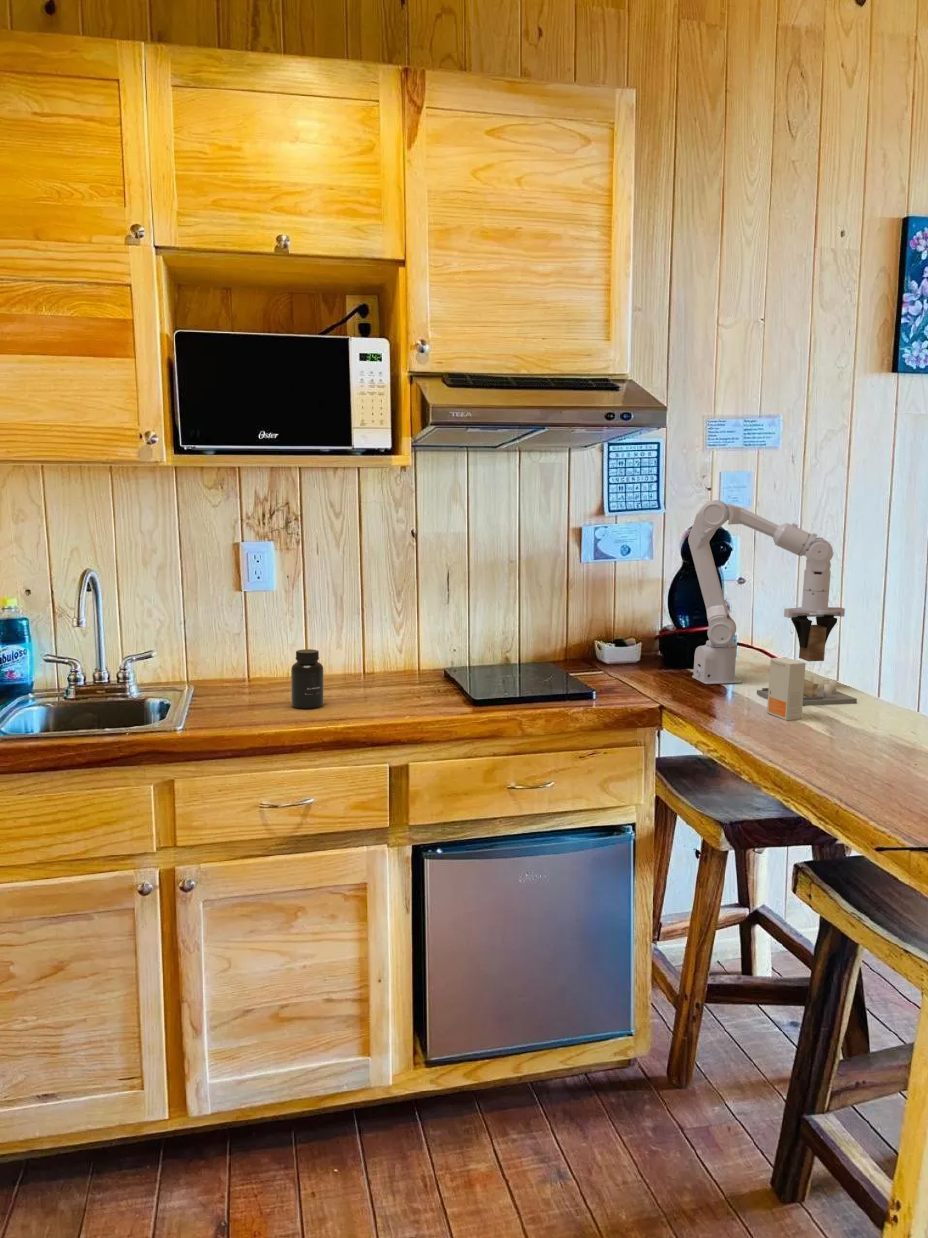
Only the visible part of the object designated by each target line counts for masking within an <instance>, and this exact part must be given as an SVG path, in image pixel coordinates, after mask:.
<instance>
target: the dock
mask: <svg viewBox="0 0 928 1238" xmlns="http://www.w3.org/2000/svg"><path fill="white" fill-rule="evenodd" d="M805 679H806V680H808V681H811V682H814V680H815V677H813V676H805ZM814 683H815V682H814ZM837 684H838V680H836V679H829V682H828V683H824V685H823V687H818V688H817V696H816V697H809V696H807V695H805V694H803V706H820V705H821V706H823V705H824V706H825V705H845V704H846V705H847V704H848V705H849V704H857V702H858V699H857V698H856V697H853V696H851V695H848V694H845V693H843V692H840V691H838V690H837V688H838V687H837ZM768 690H769V687H762V688H761V689H757V690H756V695H757V696H759V697H762V698H764V699H766V700H768Z"/></svg>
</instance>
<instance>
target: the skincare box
mask: <svg viewBox="0 0 928 1238" xmlns="http://www.w3.org/2000/svg"><path fill="white" fill-rule="evenodd" d="M769 664H770V665H769V674H768V675H769V680H768V688H769V690H768V699H767V706H766V713H767V714H769V715H771V716H775V717H777V718H780V719H782V720H784V721H792V720H800V719H802V716H803V706H804V705H803V692H804V679H806V676H805V675H806V674H805V673H806V661H805V662H804V661H801V660H797V659H793V658H790V657H783V656H782V657H772V658H770V662H769Z"/></svg>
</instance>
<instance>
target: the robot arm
mask: <svg viewBox="0 0 928 1238" xmlns="http://www.w3.org/2000/svg"><path fill="white" fill-rule="evenodd" d="M727 521H728V522H727ZM725 523H727V525H742V526H745V527H748V528H750V529H751V530H755V531H757V532H759V533H761V534H764V535H766V536H768V537H771V538H772V539H773V542H774V546H777V547H779V548H781V549H784V550H786V551H788V552H790V553H792V554H794V555H796V556H799V557H803V556H805V558H806V560H805V569H804V572H803V583H802V584H803V586H802V601H801V607H800V606H799V607H792V608H784V610H783V611H784V612H783V617H784V618H787V619H790V620H791V623H792V624H793V626H794V628H795V631H796V635H797V639H798V645H799V648H800V647H803V648H807V645H808V636H809V630H810V627H811V625H813V624H812V623H813V620H811V619H809V618H811V617H812V618H813V617H815V621H816V622H815V623H816V625H819V626H823V627H826V641H825V645H826V643H827V641H828V638H829V635H830V634H831V632H832V630H833V629H834V627H835V625H836V624H837V622H838V618H837V617H845V613H846V612H845V611H846V608H843V607H830V606H829V599H830V585H831V570H830V569H831V566H832V563H831V560H832V558H833V557H834V551H833V546H832V544H830V542H829V541H828V540H826V539H824V538H823V537H818V534H817V533H815V532H813V533H810V532H808V531H806V530H803V529H801V528H799V525H798V524H797V523H795V522H792V523H791V524H790V523H788V522H785V523H783V524H780V525H779V524H777V523H774V522H772V521H771V520H769V519H767V518H765V517H762V516H760V515H758V514H757V513H754V512H752V511H749V510H748V509H745V508H744V507H741V506H738V505H735V504H732V503H731V504H730V503H725V502H724V501H722V500H711V501H708V502H706V503H705V504H704V505H703V506H702V507H701V508H700V509H699V511H698V512H697V513H696V515H695V519H694V521H693V524H692V527H691V529H690V532H689V535H688V538H687V539H688V545H689V549H690V553H691V557H692V560H693V564H694V568H695V572H696V575H697V580H698V583H699V588H700V590H701V591H700V592H701V595H702V598H703V602H704V605H705V610H706V618H707V622H708V628H707V631H706V633H707V634H706V635H707V637H708V640H706V641H705V644H704V645H699V646H697V647H696V648H695V651H694V655H693V657H694V660H693V675H691V677H692V678H693V679H695V680H697V681H698V682H701V683H703V684H705V685H719V684H724V685H725V684H742V680H740V679H738V678H736V677H735V675H736V661H737V646H738V645H737V642H735V641H734V639H735V636H736V635H735V634H736V632H737V625H736V622H735V620H734V619H733V618H732V617H731V616H730V613H729V610H728V607H727V605H726V601H725V599H724V594H723V589H722V587H721V582H720V578H719V575H718V571H717V567H716V565H715V560H714V555H713V553H712V549H711V546H710V541H711V539H712V538H713V536H714V535H715V533H716V531H718V529H720V528H721V527H722V526H723V525H724V524H725Z"/></svg>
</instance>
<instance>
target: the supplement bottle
mask: <svg viewBox="0 0 928 1238" xmlns="http://www.w3.org/2000/svg"><path fill="white" fill-rule="evenodd" d="M319 660H320V657H319V650H317V649H310V648H307V649H306V648H305V649H298V650H296V651H295V661H296V662H295V663H293V664H292V666H291V669H290V670H291V673H290V674H291V675H290V676H291V679H290V680H291V683H290V684H291V687H290V688H291V693H290V694H291V705H292V706H293V707H294V708H296V709H303V710H311V709H318V708H321V707H322V706H323V705H324V666H323V664H322V663H321V662H319Z"/></svg>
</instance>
